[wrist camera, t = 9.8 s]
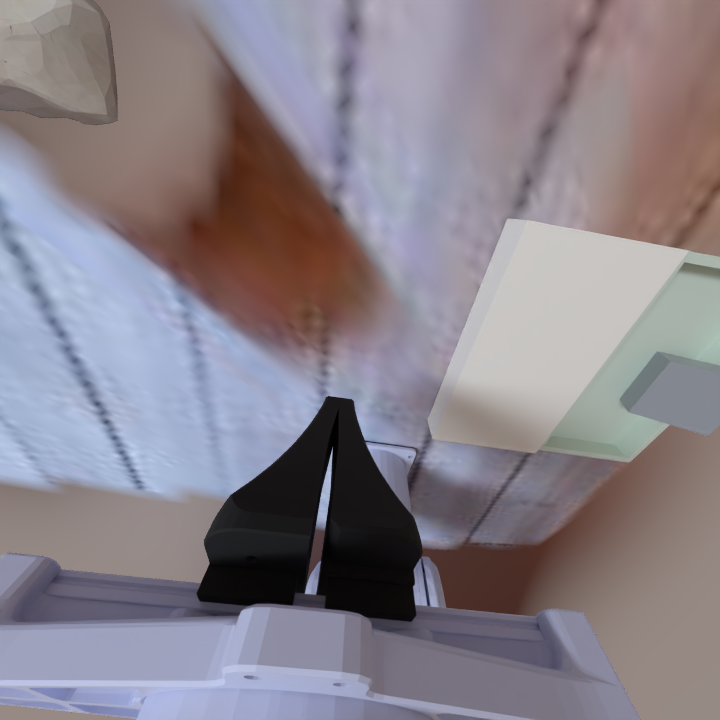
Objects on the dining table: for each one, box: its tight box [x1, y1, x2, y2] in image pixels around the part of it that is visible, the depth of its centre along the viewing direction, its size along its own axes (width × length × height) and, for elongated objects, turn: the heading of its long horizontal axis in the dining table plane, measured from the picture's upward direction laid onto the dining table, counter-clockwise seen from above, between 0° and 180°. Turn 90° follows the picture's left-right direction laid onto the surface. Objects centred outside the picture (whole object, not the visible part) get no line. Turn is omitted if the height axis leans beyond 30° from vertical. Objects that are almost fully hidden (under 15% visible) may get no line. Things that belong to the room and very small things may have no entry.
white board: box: [427, 219, 689, 454], centre depth 20 cm, size 18×10×2 cm, turn 171°
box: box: [539, 251, 720, 463], centre depth 21 cm, size 18×10×2 cm, turn 171°
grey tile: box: [620, 351, 720, 436], centre depth 20 cm, size 5×5×2 cm
